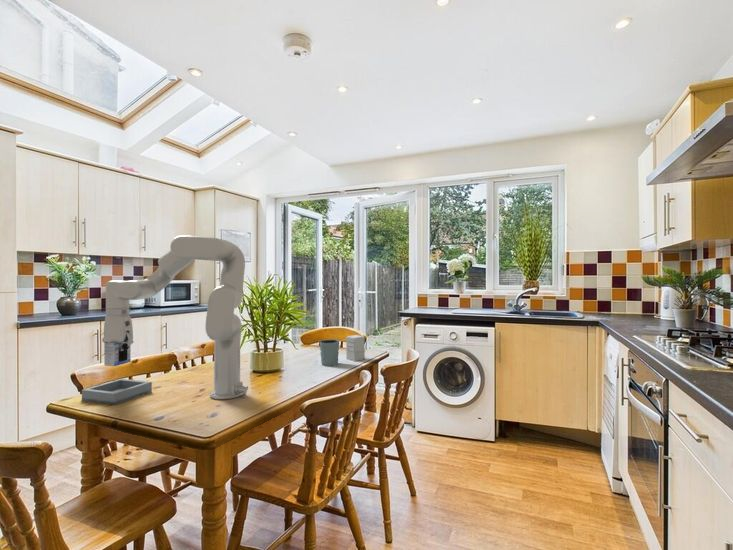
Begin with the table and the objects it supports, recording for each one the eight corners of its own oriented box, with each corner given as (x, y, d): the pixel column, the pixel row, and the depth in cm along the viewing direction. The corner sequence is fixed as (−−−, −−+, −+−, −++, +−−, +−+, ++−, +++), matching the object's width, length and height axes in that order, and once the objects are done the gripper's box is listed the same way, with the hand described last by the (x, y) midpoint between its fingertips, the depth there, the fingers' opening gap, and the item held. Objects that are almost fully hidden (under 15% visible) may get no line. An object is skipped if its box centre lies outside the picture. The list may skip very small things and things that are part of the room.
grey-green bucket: (343, 363, 201) (343, 340, 201) (331, 367, 192) (331, 343, 192) (327, 361, 206) (327, 338, 206) (315, 365, 198) (315, 341, 198)
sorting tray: (151, 391, 153) (151, 381, 153) (114, 405, 138) (114, 393, 138) (121, 388, 158) (121, 378, 158) (81, 400, 143) (81, 389, 143)
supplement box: (356, 357, 216) (356, 334, 216) (364, 359, 210) (364, 336, 210) (345, 359, 211) (345, 336, 211) (354, 361, 206) (354, 337, 206)
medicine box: (113, 366, 144) (113, 343, 144) (103, 366, 145) (103, 342, 145) (130, 361, 151) (131, 339, 151) (121, 361, 152) (121, 339, 152)
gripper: (143, 312, 149) (143, 359, 149) (110, 311, 154) (110, 356, 154) (125, 314, 142) (125, 364, 142) (91, 312, 147) (91, 360, 147)
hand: (117, 359), depth 148 cm, fingers closed on medicine box, 4 cm apart
